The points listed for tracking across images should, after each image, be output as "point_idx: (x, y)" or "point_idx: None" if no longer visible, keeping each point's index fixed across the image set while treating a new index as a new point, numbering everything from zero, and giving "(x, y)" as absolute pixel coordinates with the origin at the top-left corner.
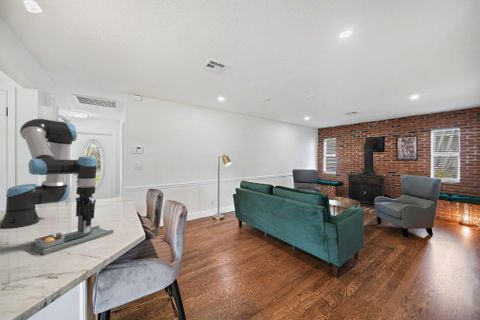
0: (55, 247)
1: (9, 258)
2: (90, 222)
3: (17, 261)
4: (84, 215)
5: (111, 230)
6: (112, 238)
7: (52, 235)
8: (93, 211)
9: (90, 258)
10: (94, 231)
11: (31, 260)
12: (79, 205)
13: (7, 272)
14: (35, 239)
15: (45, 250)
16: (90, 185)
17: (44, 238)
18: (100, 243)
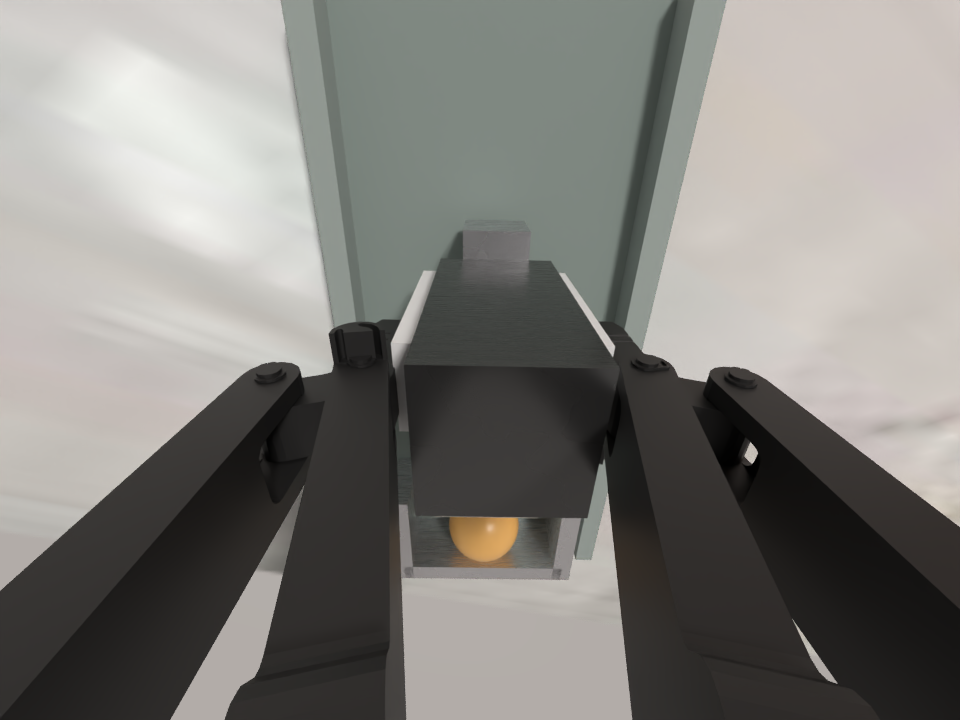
0: (599, 518)
1: (458, 590)
2: (636, 345)
3: (532, 587)
4: (589, 491)
5: (720, 15)
6: (815, 128)
7: (408, 508)
8: (898, 508)
9: (905, 444)
10: (433, 131)
11: (583, 564)
12: (135, 697)
13: (616, 620)
14: (407, 576)
15: (591, 553)
16: None
17: (412, 536)
18: (782, 280)
